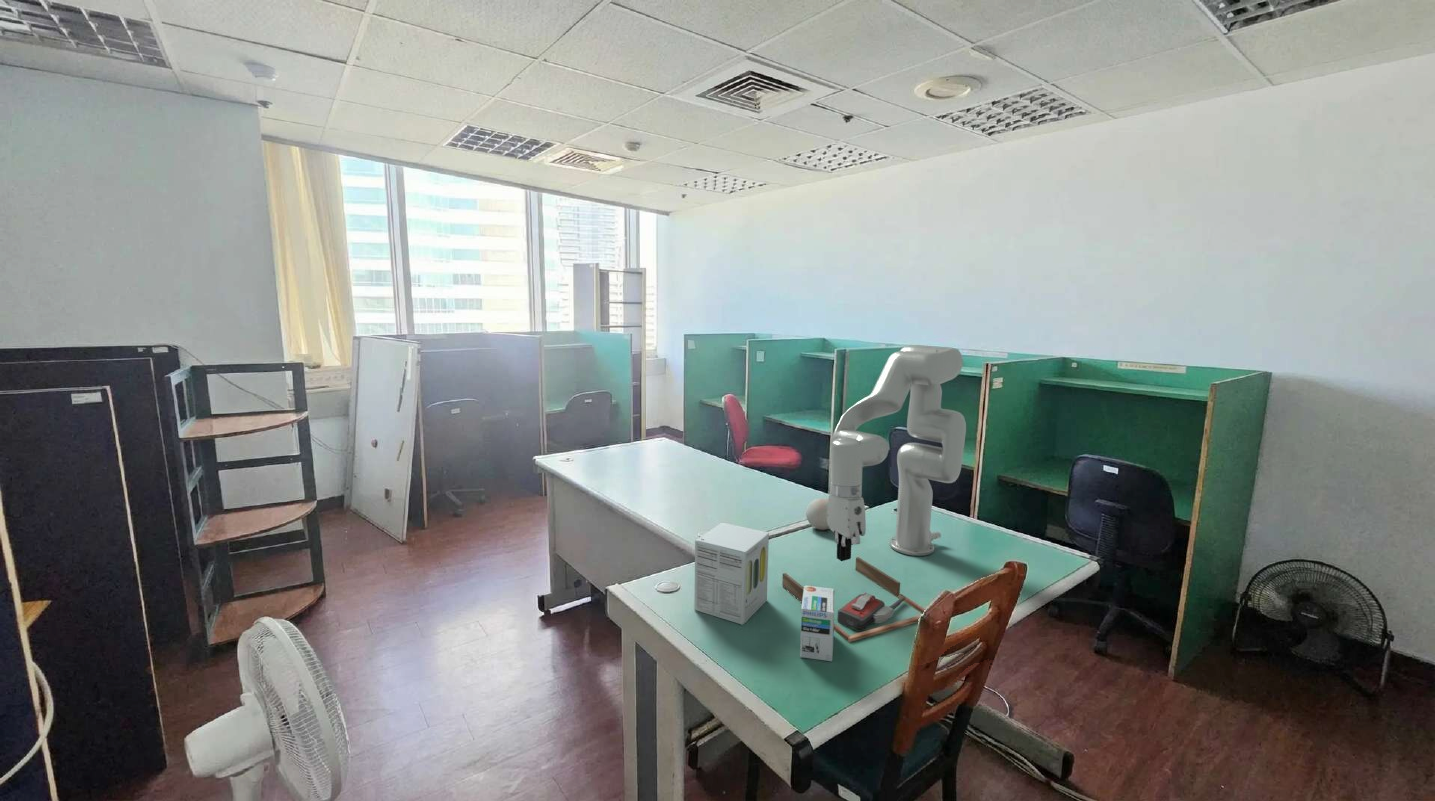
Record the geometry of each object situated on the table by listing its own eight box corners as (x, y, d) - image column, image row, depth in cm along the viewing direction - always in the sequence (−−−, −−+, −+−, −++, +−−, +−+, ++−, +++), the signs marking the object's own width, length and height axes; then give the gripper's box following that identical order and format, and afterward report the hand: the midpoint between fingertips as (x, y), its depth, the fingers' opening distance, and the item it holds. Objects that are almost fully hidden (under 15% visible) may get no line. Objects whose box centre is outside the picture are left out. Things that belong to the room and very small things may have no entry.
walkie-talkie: (867, 639, 125) (907, 604, 140) (868, 620, 125) (908, 587, 139) (832, 624, 131) (874, 592, 146) (833, 605, 130) (875, 576, 145)
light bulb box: (832, 662, 117) (835, 613, 115) (798, 658, 118) (800, 609, 116) (833, 633, 127) (835, 587, 125) (801, 629, 128) (803, 584, 126)
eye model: (834, 536, 180) (836, 505, 178) (802, 531, 183) (803, 501, 182) (839, 525, 189) (841, 496, 187) (809, 521, 193) (810, 492, 191)
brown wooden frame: (857, 569, 158) (858, 557, 157) (933, 617, 134) (934, 603, 133) (782, 586, 148) (782, 573, 147) (849, 642, 124) (850, 627, 123)
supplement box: (743, 626, 129) (745, 552, 126) (693, 610, 136) (693, 539, 133) (768, 600, 141) (770, 532, 138) (720, 586, 147) (721, 521, 144)
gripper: (878, 496, 136) (875, 568, 140) (839, 477, 150) (837, 544, 153) (852, 501, 133) (850, 575, 137) (815, 482, 146) (813, 550, 150)
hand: (843, 558), depth 145 cm, fingers closed
